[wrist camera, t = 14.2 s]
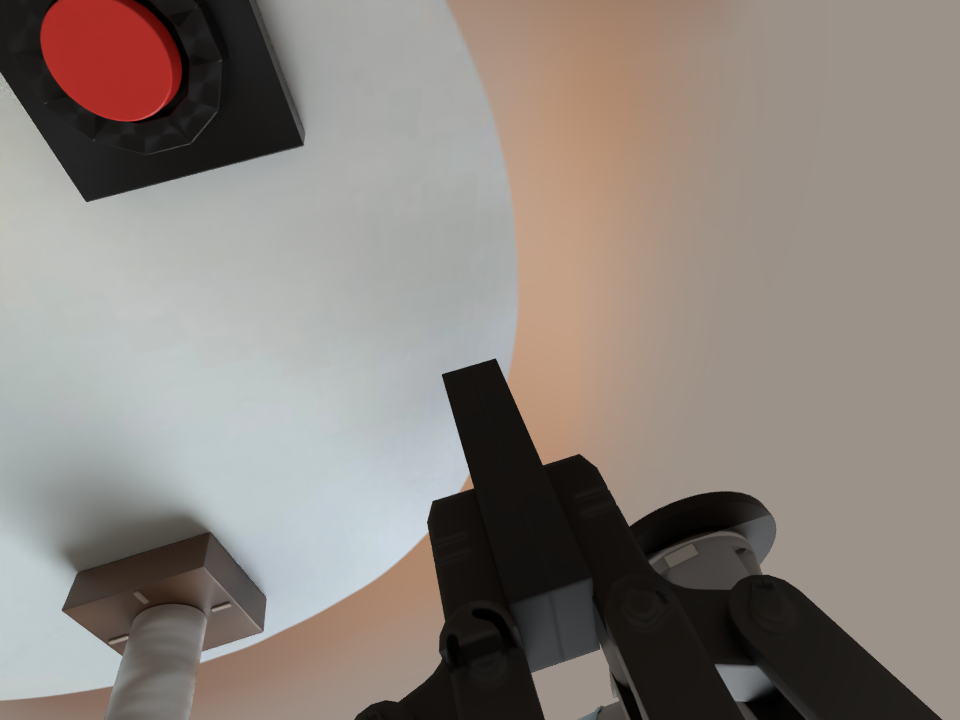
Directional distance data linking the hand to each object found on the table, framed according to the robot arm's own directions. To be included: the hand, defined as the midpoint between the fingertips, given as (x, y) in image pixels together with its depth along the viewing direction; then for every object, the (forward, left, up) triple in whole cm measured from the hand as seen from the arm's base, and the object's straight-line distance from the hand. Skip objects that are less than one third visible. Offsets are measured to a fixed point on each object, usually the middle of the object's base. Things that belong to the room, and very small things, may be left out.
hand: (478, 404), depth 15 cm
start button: (+9, +9, -15) cm, 19 cm away
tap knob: (-26, +26, -15) cm, 40 cm away
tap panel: (-26, +26, -18) cm, 41 cm away
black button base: (+9, +9, -18) cm, 22 cm away
